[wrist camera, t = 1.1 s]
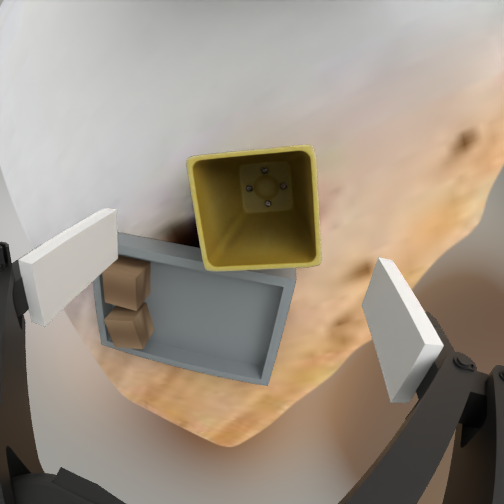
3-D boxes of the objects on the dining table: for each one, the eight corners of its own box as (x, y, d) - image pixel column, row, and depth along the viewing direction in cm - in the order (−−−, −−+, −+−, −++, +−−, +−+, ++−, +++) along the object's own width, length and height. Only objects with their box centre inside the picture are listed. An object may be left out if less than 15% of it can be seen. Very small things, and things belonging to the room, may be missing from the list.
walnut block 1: (119, 255, 34) (102, 270, 30) (150, 261, 34) (135, 278, 30) (120, 285, 36) (104, 302, 32) (150, 292, 35) (136, 311, 32)
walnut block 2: (118, 302, 37) (103, 319, 33) (146, 302, 36) (132, 321, 32) (127, 328, 38) (114, 346, 34) (154, 329, 38) (142, 349, 34)
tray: (103, 229, 34) (89, 238, 31) (295, 266, 33) (296, 279, 30) (111, 331, 40) (101, 344, 37) (269, 369, 39) (267, 386, 36)
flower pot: (226, 233, 32) (203, 273, 24) (214, 147, 29) (184, 157, 21) (313, 227, 31) (321, 267, 23) (307, 138, 28) (315, 143, 19)
